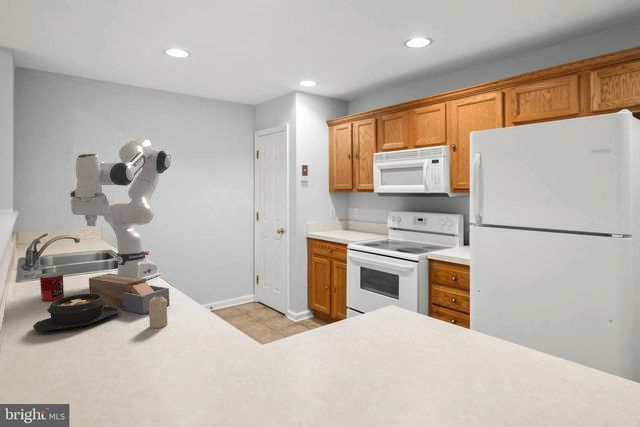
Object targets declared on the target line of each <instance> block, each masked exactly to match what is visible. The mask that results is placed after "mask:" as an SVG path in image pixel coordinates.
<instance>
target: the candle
mask: <svg viewBox="0 0 640 427" xmlns="http://www.w3.org/2000/svg"><path fill="white" fill-rule="evenodd" d="M148 314H149V318H148V319H149V328H151V329H161V328H160V327H162V328H165V327H166V326H168V306H167V300H166V299H165V298H164V297H162V296H159V297H157V296H154V297H153V298H152V299H151V300H150V301H149V313H148ZM164 326H165V327H164Z"/></svg>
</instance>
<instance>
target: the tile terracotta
mask: <svg viewBox="0 0 640 427" xmlns="http://www.w3.org/2000/svg"><path fill="white" fill-rule="evenodd" d="M149 285H150V284H148V282H147V281H146V282H145V283H141V284H138V285H134V286H132V288H131V290H130V291H131V292H132V293H133V294H137V295H145V294H148V293H152V292H154V290H153V289H152V288H151V287H150V286H149Z"/></svg>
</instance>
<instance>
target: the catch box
mask: <svg viewBox="0 0 640 427" xmlns="http://www.w3.org/2000/svg"><path fill="white" fill-rule="evenodd" d="M148 285H149V286H150V287H151V288H152V289H153V290H154V292H153V293H149V294H146V295H137V294H133V293H132V292H131V291H127V292H124V293H123V312H127V311H128V313H132V312H133V314H136V313H138V314H137V315H141V314H142V316H144V314H145V315H147V314H149V301H150V300H151V299H152V298H153V297H154V296H157V297H159V296H162V297H164V298H165V299H166V300H167V307H168V306H170V288H169V287H164V286H158V285H152V284H151V285H150V284H148ZM155 291H156V292H155Z"/></svg>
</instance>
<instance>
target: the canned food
mask: <svg viewBox="0 0 640 427" xmlns="http://www.w3.org/2000/svg"><path fill="white" fill-rule="evenodd" d="M39 279H40V280H39V282H40V283H39V284H40V295H41V296H40V298H41V302H44V303H52V302H53V301H55V300H57V299H60V298H64V297H65V289H64V274H63V272H61V271H52V272H46V273H41V274H40V275H39Z"/></svg>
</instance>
